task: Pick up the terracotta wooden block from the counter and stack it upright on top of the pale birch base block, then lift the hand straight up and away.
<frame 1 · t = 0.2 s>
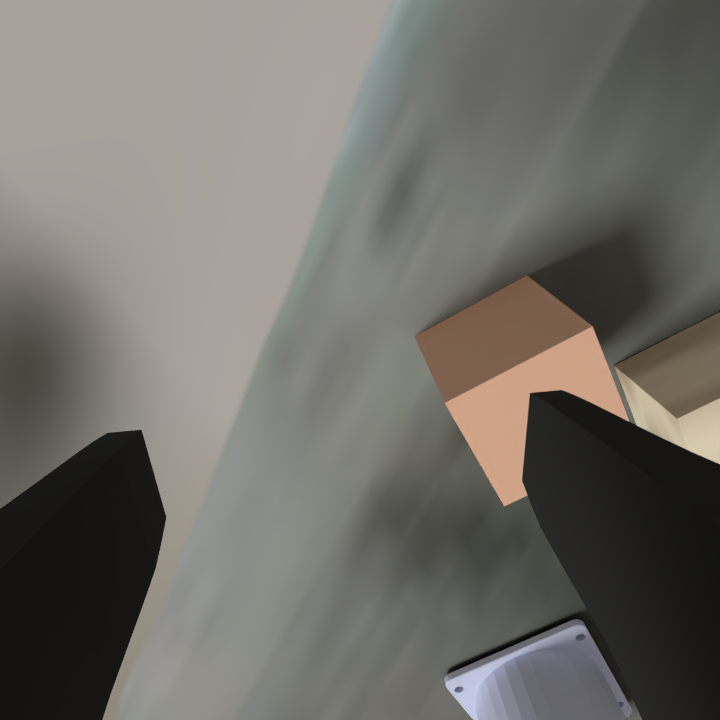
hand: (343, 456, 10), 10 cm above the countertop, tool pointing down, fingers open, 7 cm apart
block: (493, 353, 20), on the countertop
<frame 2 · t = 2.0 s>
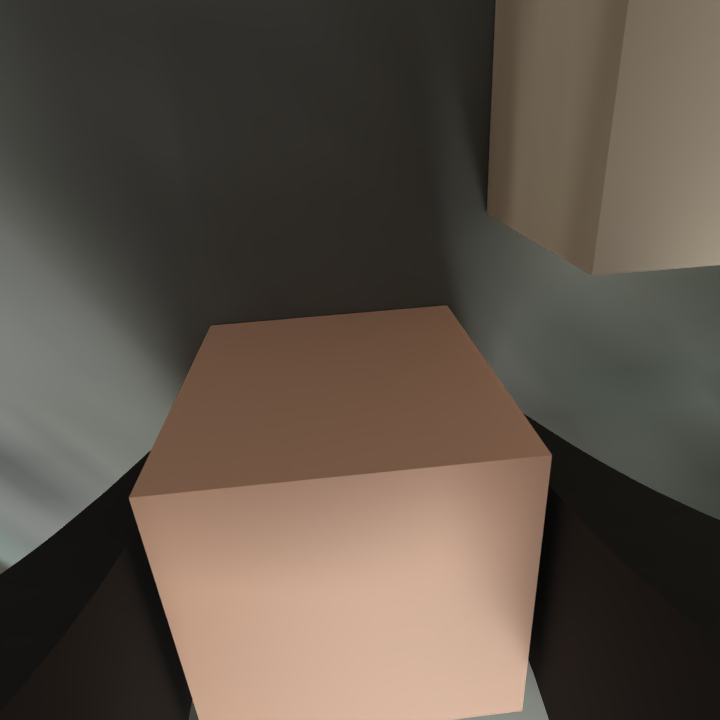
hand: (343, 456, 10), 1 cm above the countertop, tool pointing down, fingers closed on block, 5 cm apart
block: (339, 416, 11), on the countertop, touching gripper
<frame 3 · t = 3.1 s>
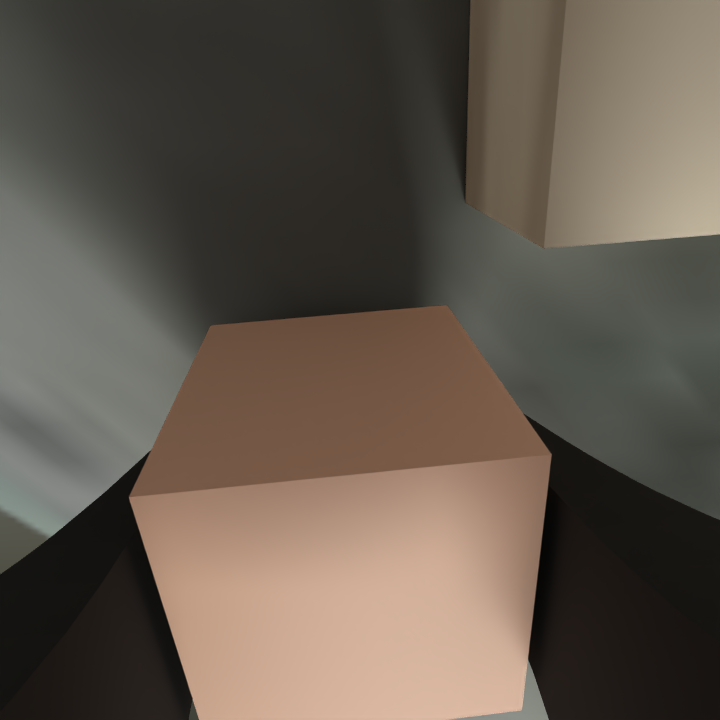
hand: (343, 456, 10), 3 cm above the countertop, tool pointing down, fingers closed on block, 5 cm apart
block: (339, 416, 11), point 1 cm above the countertop, touching gripper
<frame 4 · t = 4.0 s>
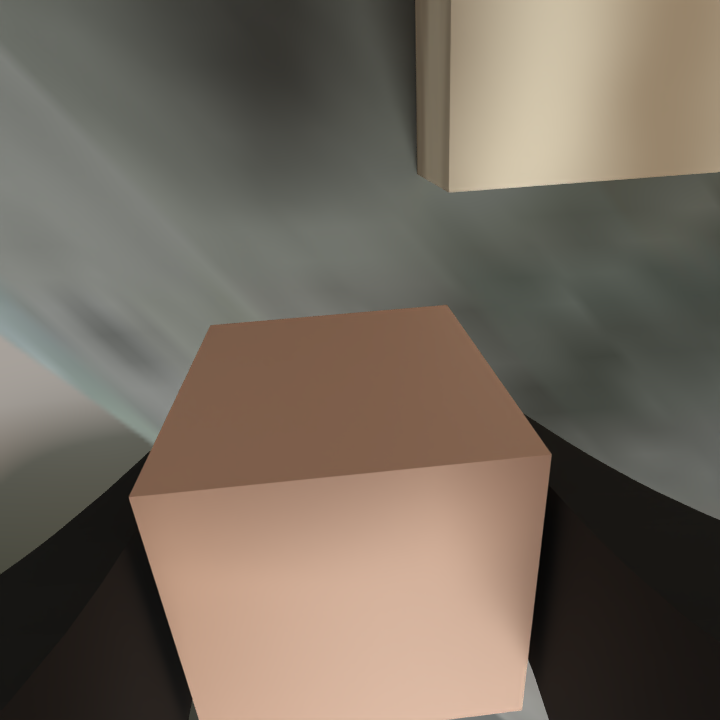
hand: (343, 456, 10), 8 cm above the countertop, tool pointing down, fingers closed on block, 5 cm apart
block: (339, 416, 11), point 7 cm above the countertop, touching gripper
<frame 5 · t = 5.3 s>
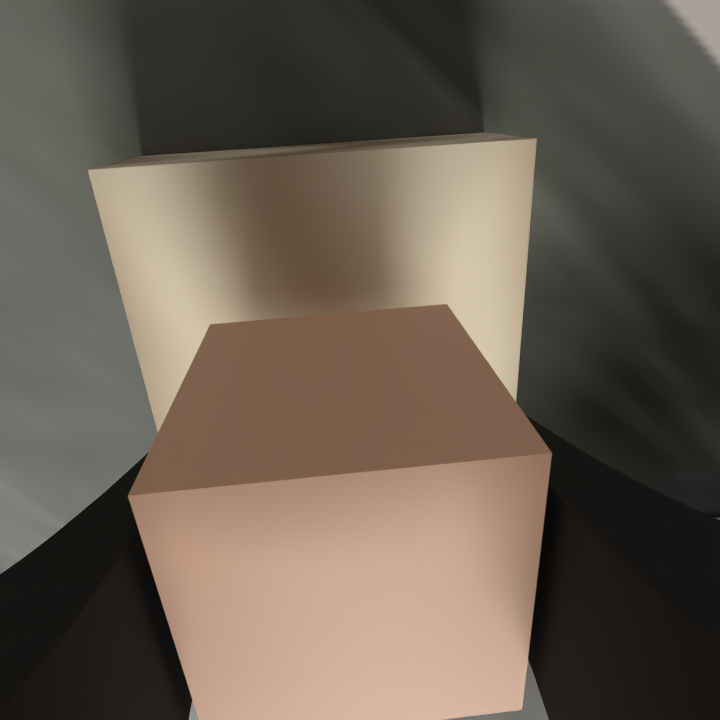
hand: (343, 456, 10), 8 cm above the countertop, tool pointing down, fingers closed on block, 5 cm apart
base: (330, 306, 17), on the countertop
block: (339, 415, 11), point 7 cm above the countertop, touching gripper
when the fingers open (6 cm above the countertop, at t = 6.2 s): block stays where it is, resting on base.
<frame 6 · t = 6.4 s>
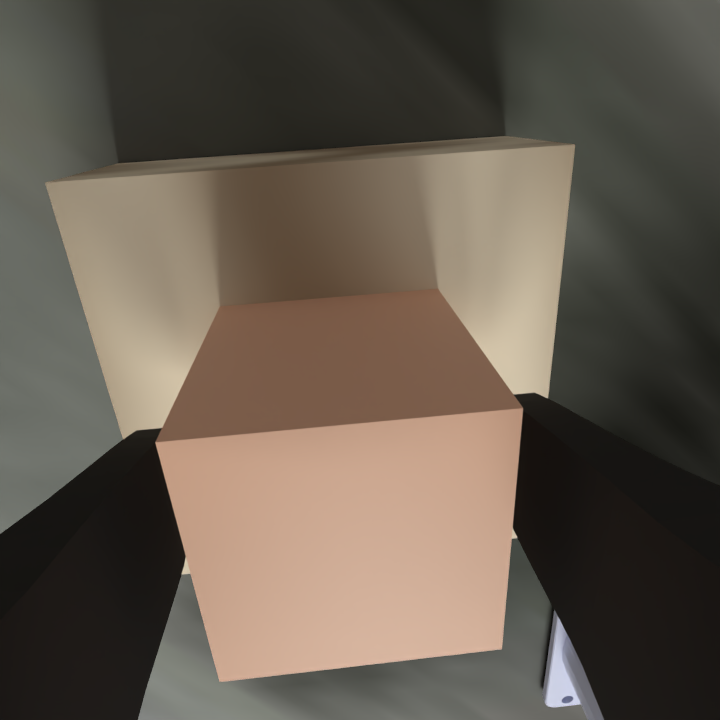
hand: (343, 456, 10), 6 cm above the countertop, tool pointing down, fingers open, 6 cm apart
base: (331, 329, 16), on the countertop
block: (338, 393, 12), point 4 cm above the countertop, touching base
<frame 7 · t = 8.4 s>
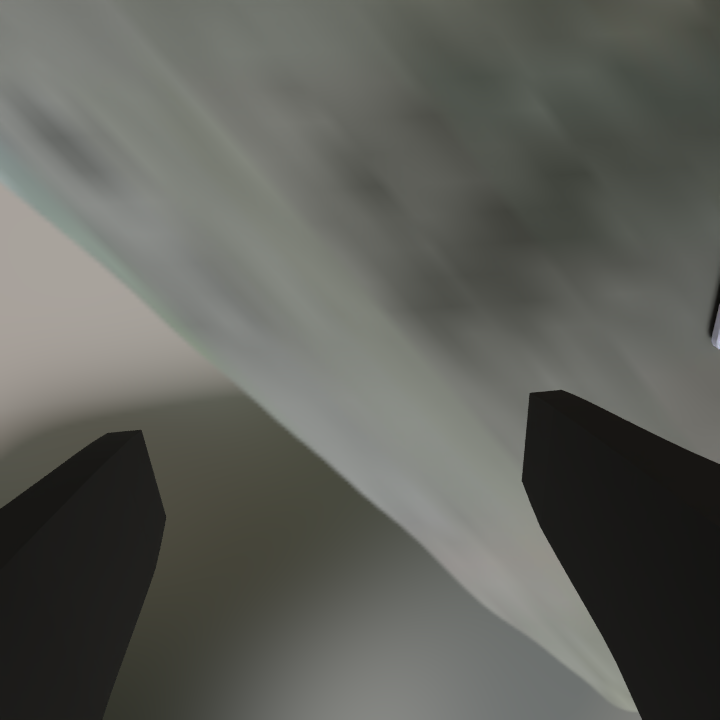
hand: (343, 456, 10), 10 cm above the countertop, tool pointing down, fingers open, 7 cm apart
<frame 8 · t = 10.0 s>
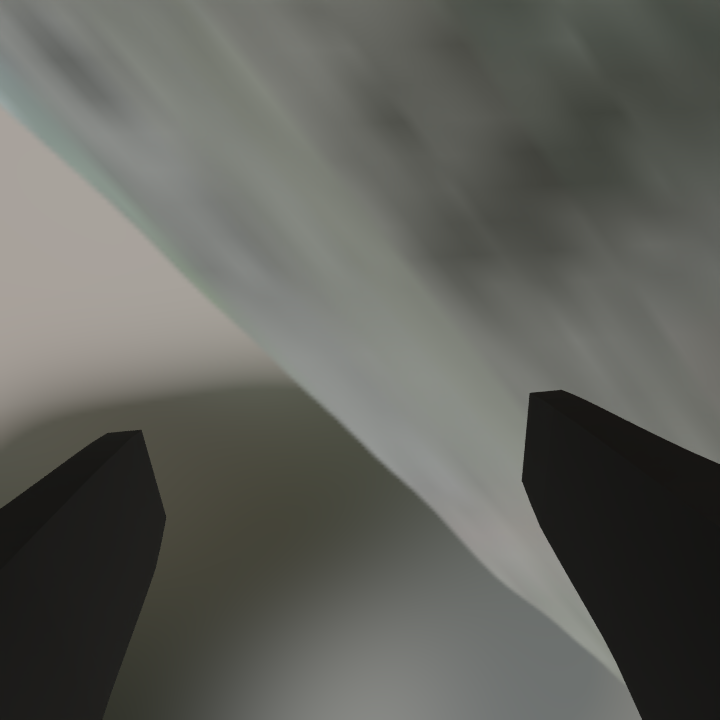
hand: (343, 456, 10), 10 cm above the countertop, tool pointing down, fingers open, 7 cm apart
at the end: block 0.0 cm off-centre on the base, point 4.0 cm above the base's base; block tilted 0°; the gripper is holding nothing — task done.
